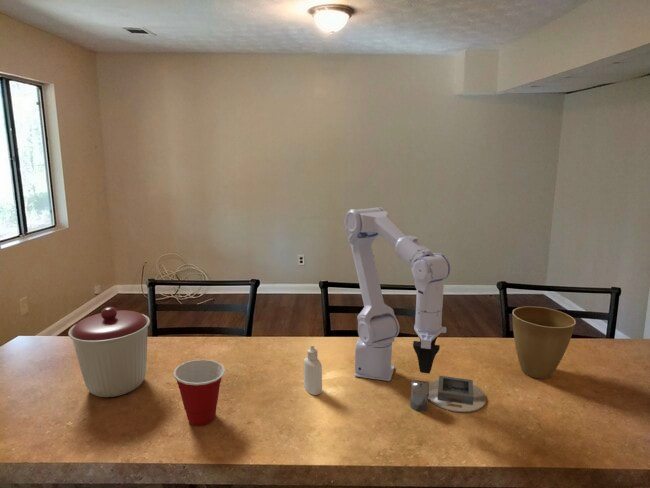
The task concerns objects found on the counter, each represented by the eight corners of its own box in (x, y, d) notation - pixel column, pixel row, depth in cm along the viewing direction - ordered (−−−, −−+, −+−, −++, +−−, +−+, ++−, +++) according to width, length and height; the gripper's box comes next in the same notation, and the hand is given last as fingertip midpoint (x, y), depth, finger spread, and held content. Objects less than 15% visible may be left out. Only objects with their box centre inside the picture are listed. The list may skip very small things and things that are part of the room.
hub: (423, 406, 104) (424, 396, 104) (427, 377, 118) (427, 368, 117) (487, 416, 101) (488, 406, 100) (484, 385, 114) (484, 375, 113)
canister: (168, 385, 114) (161, 306, 109) (93, 416, 101) (82, 328, 97) (136, 362, 126) (129, 290, 122) (65, 387, 113) (54, 308, 109)
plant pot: (554, 393, 110) (561, 332, 107) (496, 370, 121) (501, 314, 117) (577, 373, 120) (585, 316, 116) (522, 354, 131) (528, 301, 127)
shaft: (409, 409, 103) (410, 385, 102) (411, 400, 107) (412, 376, 106) (427, 412, 102) (428, 387, 101) (428, 403, 106) (429, 379, 105)
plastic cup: (225, 431, 96) (222, 380, 93) (173, 435, 94) (168, 383, 92) (229, 402, 106) (226, 356, 104) (182, 406, 105) (178, 359, 102)
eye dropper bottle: (320, 383, 115) (320, 340, 112) (322, 395, 109) (322, 350, 107) (303, 384, 114) (303, 340, 112) (304, 396, 109) (303, 350, 106)
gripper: (447, 322, 92) (443, 382, 95) (447, 299, 106) (444, 352, 109) (412, 318, 94) (409, 378, 97) (417, 296, 108) (415, 349, 111)
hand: (426, 364), depth 103 cm, fingers open, 7 cm apart
